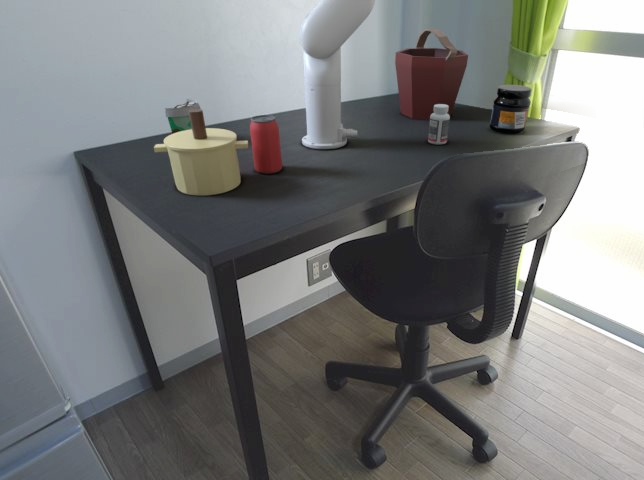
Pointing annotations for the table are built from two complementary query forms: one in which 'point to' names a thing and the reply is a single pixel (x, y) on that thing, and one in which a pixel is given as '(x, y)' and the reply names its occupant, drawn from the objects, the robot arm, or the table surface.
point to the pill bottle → (439, 125)
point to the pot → (205, 169)
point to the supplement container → (510, 109)
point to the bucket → (429, 76)
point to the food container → (181, 116)
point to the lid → (199, 136)
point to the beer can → (266, 144)
